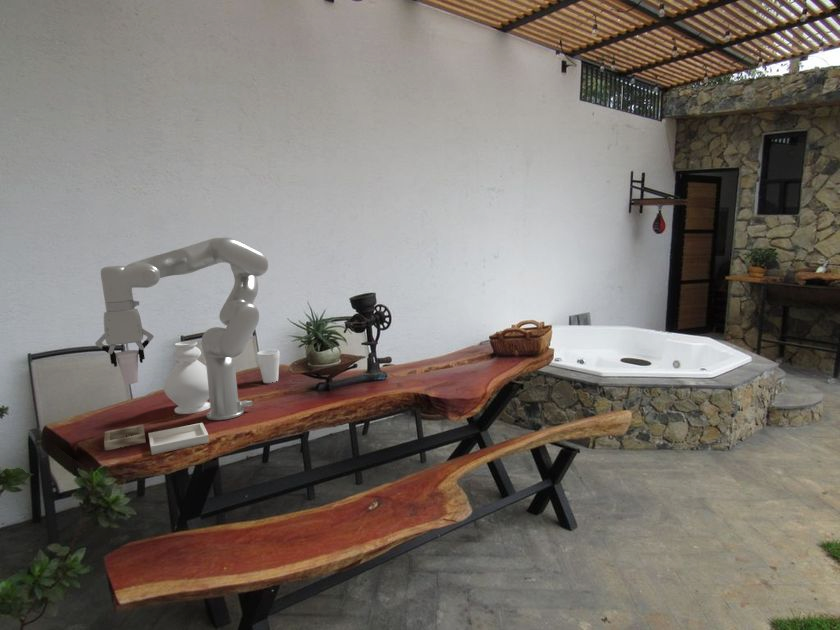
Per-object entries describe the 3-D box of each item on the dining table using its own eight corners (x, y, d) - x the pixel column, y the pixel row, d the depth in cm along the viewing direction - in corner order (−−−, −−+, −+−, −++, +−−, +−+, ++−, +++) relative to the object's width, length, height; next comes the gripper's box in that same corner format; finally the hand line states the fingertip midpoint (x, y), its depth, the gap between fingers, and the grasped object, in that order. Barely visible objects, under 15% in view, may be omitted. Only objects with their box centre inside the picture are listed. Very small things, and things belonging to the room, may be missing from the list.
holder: (144, 431, 174) (143, 424, 173) (145, 442, 164) (144, 434, 164) (105, 439, 168) (104, 431, 168) (105, 450, 159) (104, 442, 159)
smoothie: (146, 379, 166) (140, 336, 164) (136, 385, 160) (129, 340, 158) (126, 380, 166) (120, 337, 164) (115, 386, 160) (108, 341, 158)
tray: (203, 429, 174) (202, 422, 173) (209, 442, 162) (208, 434, 162) (149, 440, 166) (148, 433, 165) (151, 454, 155) (150, 446, 154)
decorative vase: (161, 408, 197) (153, 343, 194) (209, 397, 209) (203, 336, 205) (174, 420, 184) (166, 350, 180) (225, 408, 195) (219, 342, 191)
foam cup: (277, 376, 237) (275, 348, 235) (284, 381, 229) (282, 352, 227) (256, 380, 231) (254, 352, 229) (263, 385, 224) (261, 355, 222)
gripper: (151, 302, 167) (159, 357, 170) (87, 308, 159) (97, 366, 162) (152, 304, 160) (160, 361, 163) (85, 311, 152) (95, 371, 155)
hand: (128, 363), depth 162 cm, fingers closed on smoothie, 6 cm apart
